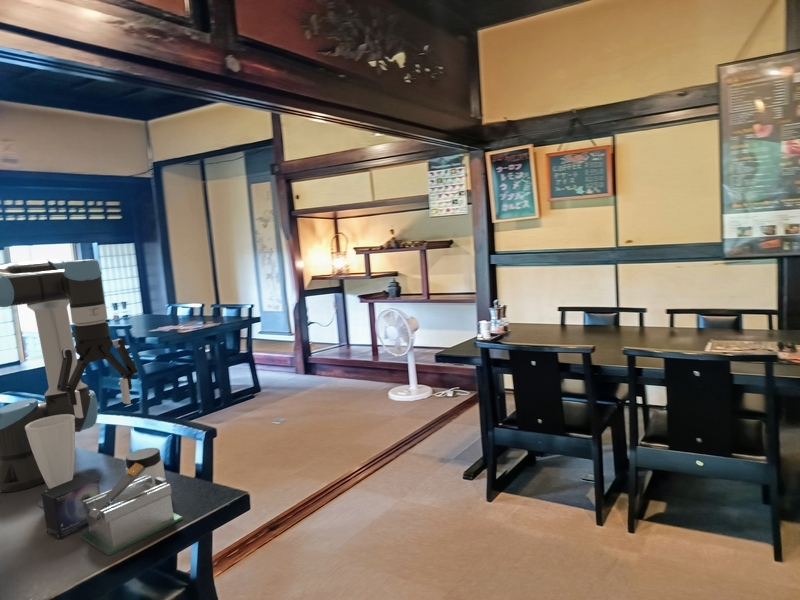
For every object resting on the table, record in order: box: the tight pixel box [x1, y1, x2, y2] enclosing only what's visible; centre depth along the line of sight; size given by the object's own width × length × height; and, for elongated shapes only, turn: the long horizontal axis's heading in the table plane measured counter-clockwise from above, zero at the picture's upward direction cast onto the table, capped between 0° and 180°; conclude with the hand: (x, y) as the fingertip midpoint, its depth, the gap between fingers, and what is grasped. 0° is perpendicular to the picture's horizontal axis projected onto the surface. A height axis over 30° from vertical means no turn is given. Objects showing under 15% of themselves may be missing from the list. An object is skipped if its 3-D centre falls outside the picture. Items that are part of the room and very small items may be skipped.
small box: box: [40, 474, 101, 540], centre depth 129 cm, size 11×6×10 cm, turn 148°
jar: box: [124, 447, 166, 487], centre depth 141 cm, size 9×8×12 cm
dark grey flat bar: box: [86, 463, 145, 520], centre depth 123 cm, size 14×4×2 cm, turn 142°
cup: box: [25, 414, 76, 509], centre depth 145 cm, size 12×12×22 cm
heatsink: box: [80, 475, 183, 556], centre depth 126 cm, size 14×17×9 cm
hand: (103, 409), depth 134 cm, fingers open, 11 cm apart
